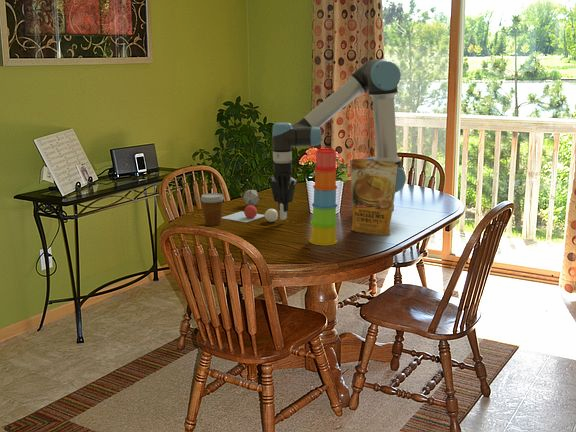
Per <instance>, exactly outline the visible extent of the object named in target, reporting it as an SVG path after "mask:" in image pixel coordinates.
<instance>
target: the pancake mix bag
mask: <svg viewBox="0 0 576 432" xmlns="http://www.w3.org/2000/svg"><path fill="white" fill-rule="evenodd" d="M365 159H366V158H365ZM365 159H363V158H359V159H358V158H353V159H351V160H349V165H350V187H351V188H350V192H351V193H350V194H351V204H352V205H351V209H352V222H351V223H352V224H351V230H352V231H354V232H356V233H361V234H367V235H374V236H381V237H382V236H383V237H384V236H390V235H391V229H390V226H391V221H392V215H393V211H392V209H393V203H395V195H396V193H397V192H396V183H397V175H398V165H396V164H395V162H389V161H376V160H365ZM395 192H396V193H395Z"/></svg>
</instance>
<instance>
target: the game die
mask: <svg viewBox="0 0 576 432" xmlns="http://www.w3.org/2000/svg"><path fill="white" fill-rule="evenodd" d="M241 198H242V199H243V201H244V203H245V205H244V208H246V207H247V206H249V205H252V206H254V207H256V208H257V207H258V205H257V204H258V202H259V201H260V200H262V197H260V196H259V193H258V188H256V189H247V188H245V192H244V194H243V195H242V196H241Z"/></svg>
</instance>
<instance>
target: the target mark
mask: <svg viewBox="0 0 576 432" xmlns="http://www.w3.org/2000/svg"><path fill="white" fill-rule="evenodd" d="M263 217H264V218H265V214H260V213H257V215H256V216H255V217H254V218H247V217H246V216H245V214H244V211H242V210H241V211H238V212H237V211H236V212H235V213H231V214H229V215H225V216H222V217H221V220H228V221H233V222H234V221H235V222H242V223H249V222H252V221H255V220H258V219H262V218H263Z"/></svg>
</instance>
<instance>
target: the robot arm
mask: <svg viewBox="0 0 576 432" xmlns="http://www.w3.org/2000/svg"><path fill="white" fill-rule="evenodd" d="M401 75H402V74H401V70H400V68H399V66H398V65H397V64H396V63H395V62H393V61H392V60H389V59H387V58H386V59H384V58H381V59H378V58H374V59H369V60H368V61H366V62H364V64H362V65H361V66H360V67H358V69H356V70H355V71H354V72H352V73H351V74H350V75H349V77H348V80H347V81H346V82H345V83H343V84H342V85H341V86H340V87H339V88H338V89H336V90H335V91H334V92H333V93H331V94H330V95H329V96H328V97H326V98H325V99H324V100H323V101H322V102H320V103H319V104H318V105H317V106H316V107H314V108H313V109H312V110H311V111H309V112H308V113H307V114H306V115H305V116H304V117H302V118H301V119H300V120H298V122H294V123H291V122H274V124H273V125H272V134H271V135H272V161H273V163H272V171H273V174H272V175H273V176H271V177H268V181H269V183H270V187H271V192H272V197H273V201H274V202H276V203H278V206H277V207H278V211H279V220H281V221H283V220H287V218H288V211H289V203H293V198H294V193H295V189H296V185H297V183H298V180H297V179H295V178H293V175H292V172H293V163H292V161H293V155H292V153H293V152H292V149H293V147H310V146H311V147H313V146H319V145H320V144H321V143H322V139H323V137H322V136H323V135H322V130H321V127H323V126H324V125H325V124H326V123H327V122H328V121H330V120H331V119H332V118H333V117H334V116H336V115H337V114H338V113H340V111H341V110H343V109H344V108H345V107H347V106H348V105H349V104H350V103H351V102H353V101H354V100H355V99H356V98H358V97H359V96H360V95H365V94H366V93H367V92H368V96H369V97H371V99H372V107H373V108H372V109H373V111H372V112H373V125H374V127H373V128H374V138H375V139H374V141H375V143H374V144H375V156H374V157H365V160H376V161H389V162H395V164H396V165H398V175H397V183H396V192H395V194H396V193H397V192H399V191H401V190H402V189H403V187H405V184H406V182H407V176H406V175H407V174H406V173H405V171H404V169H402V159H401V157H400V156H398V148H397V146H398V144H397V127H396V126H397V125H396V111H395V107H396V106H395V97H396V95H397V94H398V92H399V91H398V85H399V83H400V81H401ZM394 203H395V202H394ZM394 203H393V209H392V212H393V211H394V210H395V204H394Z"/></svg>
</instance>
